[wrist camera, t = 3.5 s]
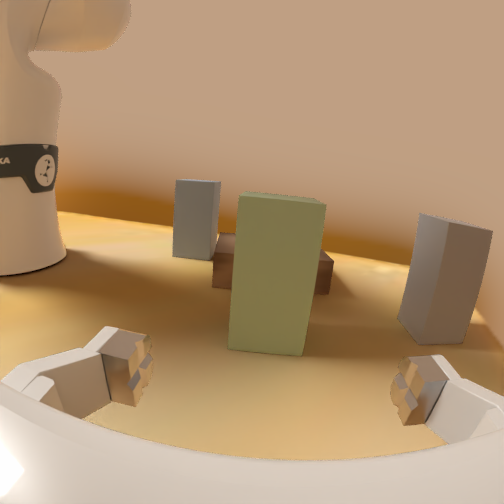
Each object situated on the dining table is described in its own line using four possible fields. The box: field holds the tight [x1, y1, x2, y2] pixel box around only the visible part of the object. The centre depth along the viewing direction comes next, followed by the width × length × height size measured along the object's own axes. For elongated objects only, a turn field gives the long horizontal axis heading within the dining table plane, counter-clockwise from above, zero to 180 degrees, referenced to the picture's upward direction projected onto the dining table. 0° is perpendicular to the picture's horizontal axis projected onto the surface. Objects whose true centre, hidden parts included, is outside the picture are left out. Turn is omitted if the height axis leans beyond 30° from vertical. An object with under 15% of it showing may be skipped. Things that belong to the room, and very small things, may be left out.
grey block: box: [397, 213, 493, 345], centre depth 22 cm, size 5×5×10 cm
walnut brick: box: [212, 233, 334, 294], centre depth 35 cm, size 12×10×4 cm
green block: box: [228, 191, 326, 356], centre depth 21 cm, size 5×5×10 cm
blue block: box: [173, 179, 221, 260], centre depth 40 cm, size 5×5×10 cm
